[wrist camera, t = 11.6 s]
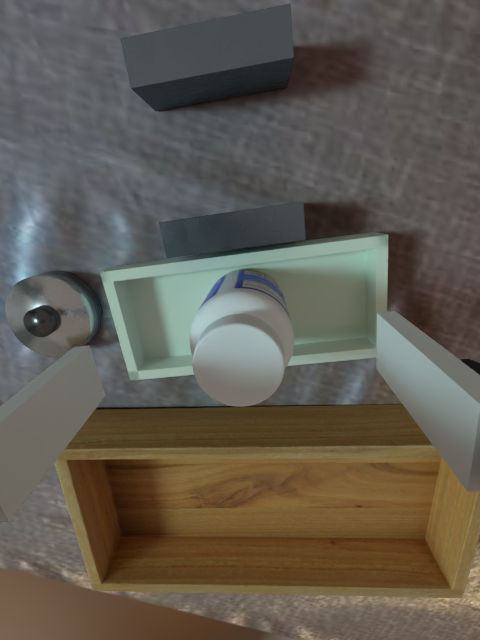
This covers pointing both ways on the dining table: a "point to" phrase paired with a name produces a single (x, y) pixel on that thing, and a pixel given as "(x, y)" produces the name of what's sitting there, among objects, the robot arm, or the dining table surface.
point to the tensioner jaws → (211, 85)
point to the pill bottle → (242, 339)
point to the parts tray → (288, 272)
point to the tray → (268, 502)
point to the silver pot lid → (53, 313)
